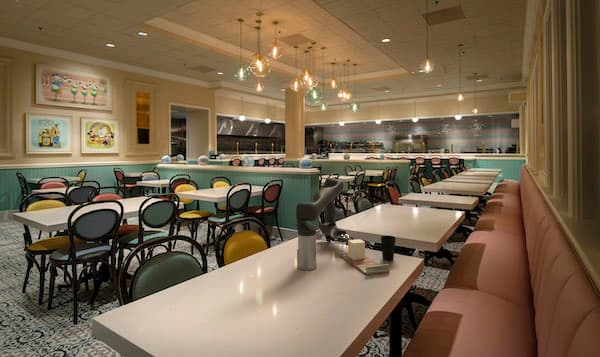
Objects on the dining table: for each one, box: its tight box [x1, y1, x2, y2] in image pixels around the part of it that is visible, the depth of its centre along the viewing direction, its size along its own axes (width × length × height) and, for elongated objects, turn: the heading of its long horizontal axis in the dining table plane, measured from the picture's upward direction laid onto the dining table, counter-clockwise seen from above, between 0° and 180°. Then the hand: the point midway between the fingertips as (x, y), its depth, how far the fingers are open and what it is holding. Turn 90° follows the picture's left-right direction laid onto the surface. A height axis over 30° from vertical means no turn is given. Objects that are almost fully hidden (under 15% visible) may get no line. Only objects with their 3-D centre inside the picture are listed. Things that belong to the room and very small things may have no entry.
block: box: [347, 239, 366, 260], centre depth 186 cm, size 6×7×9 cm
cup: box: [380, 235, 397, 262], centre depth 186 cm, size 8×8×12 cm
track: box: [341, 254, 390, 277], centre depth 179 cm, size 29×12×4 cm, turn 17°
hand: (351, 242), depth 193 cm, fingers closed
